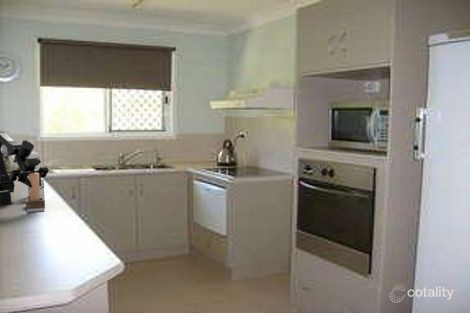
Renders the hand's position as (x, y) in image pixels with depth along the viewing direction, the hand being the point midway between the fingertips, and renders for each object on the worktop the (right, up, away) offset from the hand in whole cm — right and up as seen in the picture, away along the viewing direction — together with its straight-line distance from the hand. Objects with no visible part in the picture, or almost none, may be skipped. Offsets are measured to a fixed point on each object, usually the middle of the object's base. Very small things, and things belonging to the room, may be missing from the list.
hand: (36, 186), depth 237 cm
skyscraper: (-21, -9, +48) cm, 53 cm away
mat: (-1, -12, +2) cm, 13 cm away
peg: (-1, -7, +1) cm, 7 cm away
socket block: (-5, -12, +12) cm, 18 cm away
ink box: (-15, -10, +37) cm, 41 cm away
